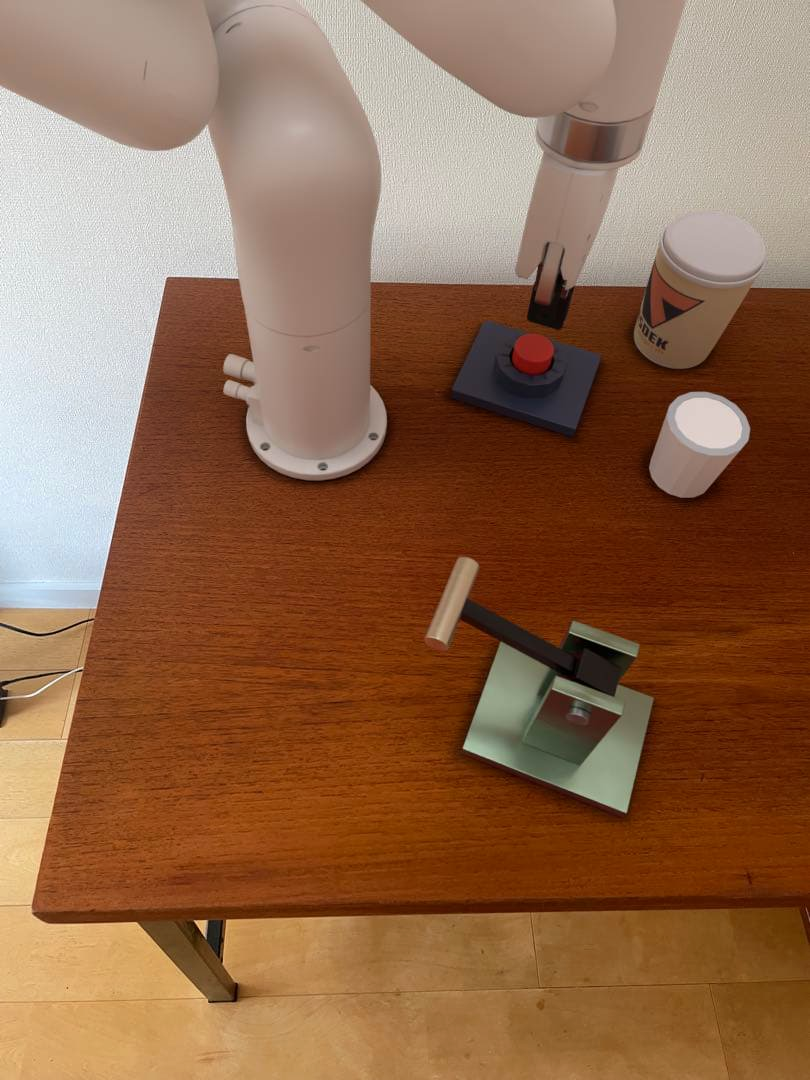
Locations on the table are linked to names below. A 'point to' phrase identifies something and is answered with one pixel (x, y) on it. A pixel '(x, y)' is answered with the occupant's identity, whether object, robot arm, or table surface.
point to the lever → (513, 634)
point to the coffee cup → (696, 286)
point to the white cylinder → (697, 443)
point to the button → (532, 354)
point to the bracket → (563, 723)
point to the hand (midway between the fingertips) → (546, 319)
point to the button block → (526, 381)
